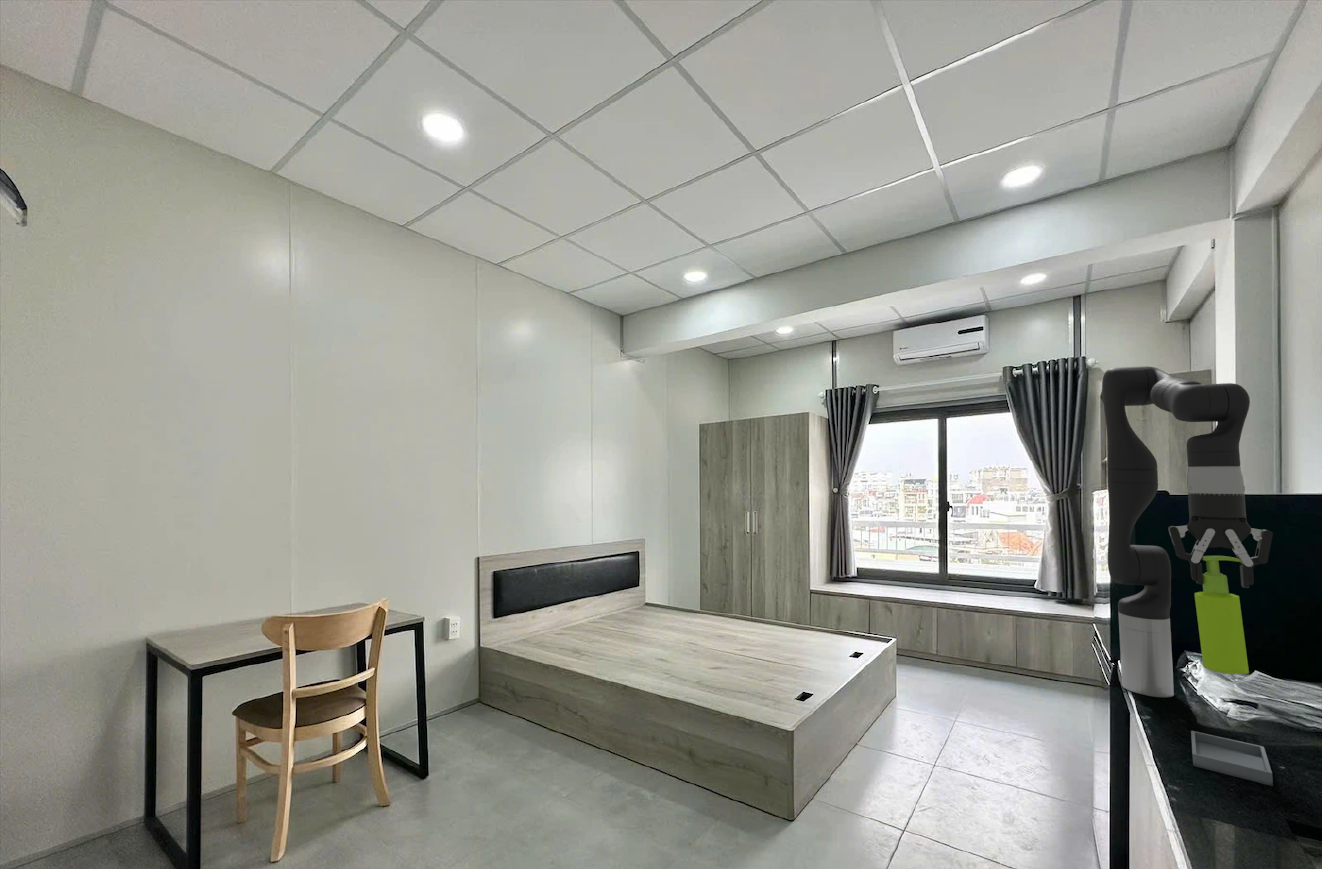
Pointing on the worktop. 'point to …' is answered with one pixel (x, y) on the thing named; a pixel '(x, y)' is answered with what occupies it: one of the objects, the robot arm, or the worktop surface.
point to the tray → (1231, 757)
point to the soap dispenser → (1220, 622)
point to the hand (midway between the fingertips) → (1221, 585)
